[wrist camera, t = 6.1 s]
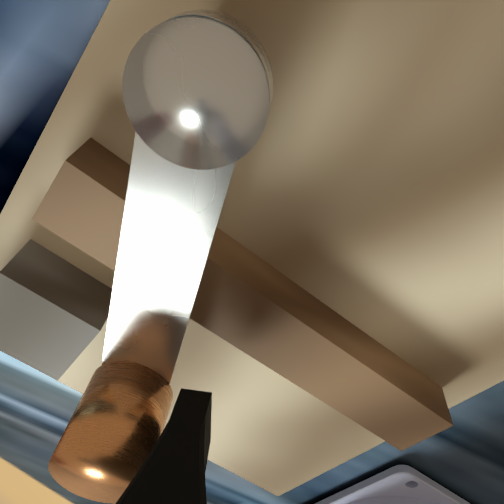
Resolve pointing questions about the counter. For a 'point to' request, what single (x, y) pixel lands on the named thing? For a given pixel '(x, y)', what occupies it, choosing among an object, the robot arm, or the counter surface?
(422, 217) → the door board
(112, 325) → the bar
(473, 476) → the counter surface
